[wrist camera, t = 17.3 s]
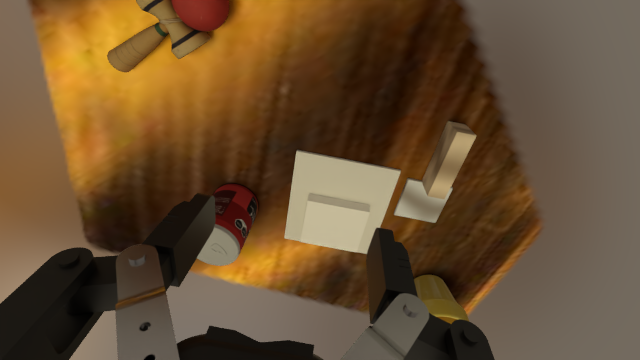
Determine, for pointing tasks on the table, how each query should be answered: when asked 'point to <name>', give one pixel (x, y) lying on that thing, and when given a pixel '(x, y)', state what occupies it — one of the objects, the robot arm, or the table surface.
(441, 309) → the plant pot
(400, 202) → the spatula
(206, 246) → the canned food
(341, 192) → the mat
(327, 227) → the tile
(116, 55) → the kendama
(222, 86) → the table surface
